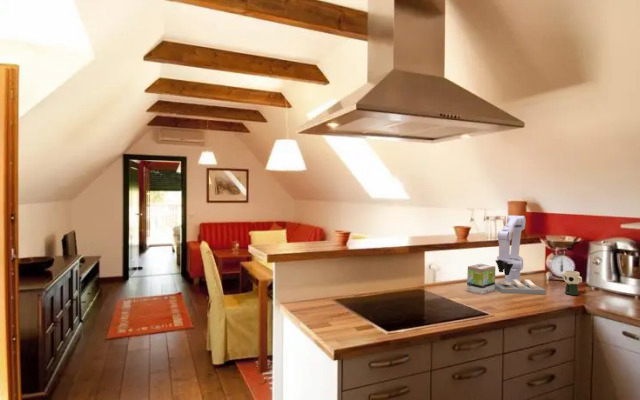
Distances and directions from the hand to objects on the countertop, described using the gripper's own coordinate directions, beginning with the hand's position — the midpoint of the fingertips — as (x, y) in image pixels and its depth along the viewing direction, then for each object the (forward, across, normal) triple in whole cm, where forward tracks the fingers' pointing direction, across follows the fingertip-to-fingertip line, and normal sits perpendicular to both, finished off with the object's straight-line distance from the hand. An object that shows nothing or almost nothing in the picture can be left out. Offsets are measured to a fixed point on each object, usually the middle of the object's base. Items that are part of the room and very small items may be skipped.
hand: (503, 273), depth 212 cm
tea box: (+10, +4, -15) cm, 18 cm away
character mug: (+10, +8, +34) cm, 36 cm away
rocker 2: (+6, +2, +7) cm, 9 cm away
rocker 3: (+6, +2, +14) cm, 15 cm away
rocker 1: (+6, +2, 0) cm, 6 cm away
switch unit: (+9, +2, +7) cm, 12 cm away
